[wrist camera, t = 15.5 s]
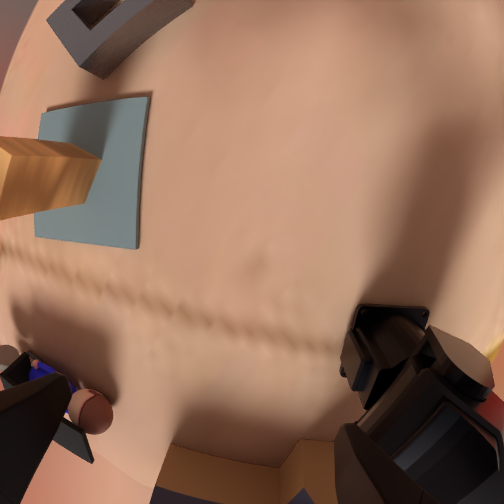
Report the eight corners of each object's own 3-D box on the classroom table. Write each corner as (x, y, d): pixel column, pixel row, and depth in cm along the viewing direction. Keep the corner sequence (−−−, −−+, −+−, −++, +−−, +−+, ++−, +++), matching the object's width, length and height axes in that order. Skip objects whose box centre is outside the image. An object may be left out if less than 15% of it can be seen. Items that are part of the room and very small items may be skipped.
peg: (71, 143, 18) (-15, 135, 9) (102, 159, 18) (11, 155, 9) (56, 184, 19) (-29, 194, 10) (84, 203, 19) (-4, 221, 10)
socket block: (140, -31, 14) (126, -50, 10) (192, 6, 15) (180, -18, 12) (66, 32, 16) (46, 20, 12) (103, 79, 17) (79, 66, 13)
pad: (150, 98, 17) (147, 96, 17) (138, 248, 20) (135, 249, 19) (45, 114, 18) (41, 113, 17) (38, 235, 20) (34, 236, 20)
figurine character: (33, 370, 27) (123, 427, 25) (-4, 396, 19) (89, 471, 17) (24, 328, 25) (119, 387, 23) (-20, 353, 17) (75, 435, 16)
